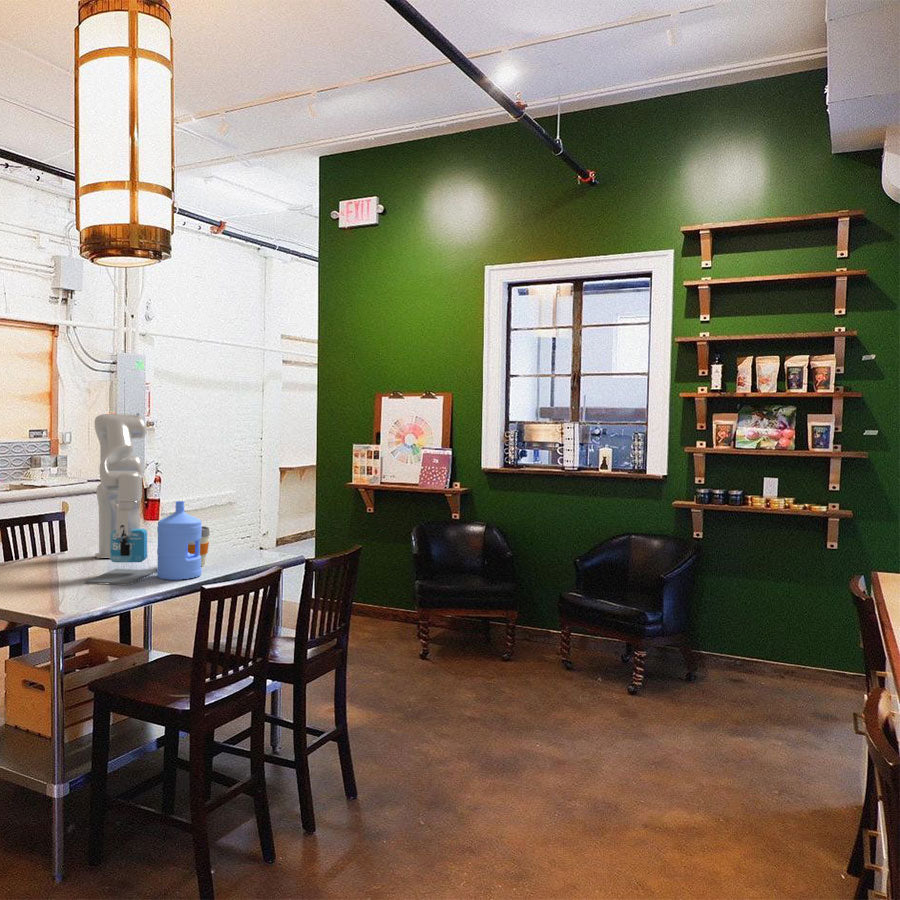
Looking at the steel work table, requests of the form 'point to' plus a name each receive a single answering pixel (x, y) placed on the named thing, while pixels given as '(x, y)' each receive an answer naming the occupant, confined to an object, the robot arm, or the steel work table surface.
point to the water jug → (178, 545)
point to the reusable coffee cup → (201, 545)
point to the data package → (136, 547)
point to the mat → (121, 576)
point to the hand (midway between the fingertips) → (128, 553)
